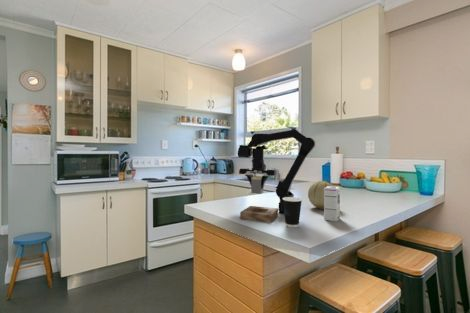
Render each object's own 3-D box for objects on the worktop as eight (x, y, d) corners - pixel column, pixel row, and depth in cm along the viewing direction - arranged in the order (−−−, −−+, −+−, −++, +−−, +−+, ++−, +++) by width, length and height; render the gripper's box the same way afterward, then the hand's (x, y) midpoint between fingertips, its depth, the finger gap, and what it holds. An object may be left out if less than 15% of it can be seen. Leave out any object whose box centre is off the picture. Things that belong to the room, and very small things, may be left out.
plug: (263, 192, 132) (263, 177, 131) (260, 193, 127) (260, 178, 127) (254, 191, 133) (254, 176, 133) (251, 193, 129) (251, 177, 129)
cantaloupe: (308, 210, 129) (308, 181, 129) (307, 204, 143) (307, 178, 143) (339, 212, 126) (339, 182, 125) (334, 206, 140) (335, 179, 140)
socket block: (277, 214, 120) (278, 208, 120) (270, 222, 107) (271, 215, 107) (250, 211, 125) (250, 205, 125) (240, 218, 112) (240, 212, 112)
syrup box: (337, 221, 109) (338, 188, 109) (323, 219, 112) (324, 187, 112) (339, 218, 114) (340, 186, 114) (326, 216, 117) (326, 185, 117)
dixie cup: (303, 224, 105) (303, 197, 105) (300, 229, 98) (300, 201, 98) (284, 221, 108) (285, 196, 108) (280, 226, 101) (280, 199, 101)
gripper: (279, 158, 134) (278, 187, 134) (245, 157, 141) (245, 185, 141) (274, 158, 123) (273, 190, 124) (238, 158, 130) (238, 188, 131)
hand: (257, 188), depth 130 cm, fingers closed on plug, 5 cm apart
